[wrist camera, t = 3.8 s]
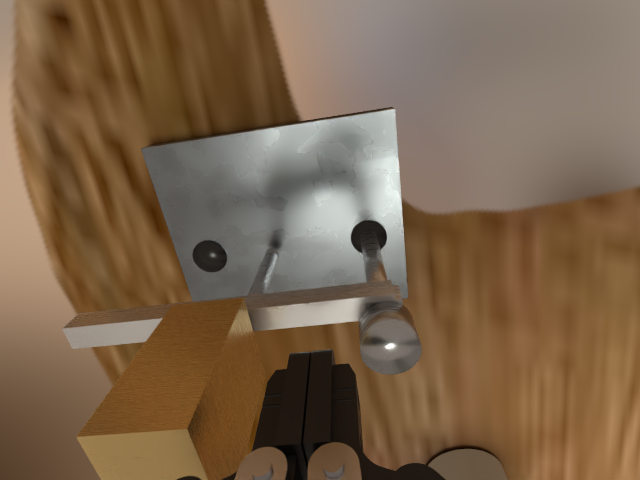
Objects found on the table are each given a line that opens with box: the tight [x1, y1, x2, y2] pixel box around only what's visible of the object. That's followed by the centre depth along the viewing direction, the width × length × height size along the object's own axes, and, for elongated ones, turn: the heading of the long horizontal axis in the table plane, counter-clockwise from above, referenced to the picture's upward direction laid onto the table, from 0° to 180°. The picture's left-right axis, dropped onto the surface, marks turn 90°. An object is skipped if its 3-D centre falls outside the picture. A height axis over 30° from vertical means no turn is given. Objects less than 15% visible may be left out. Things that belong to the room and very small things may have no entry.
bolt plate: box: [62, 107, 421, 375], centre depth 22 cm, size 18×14×14 cm
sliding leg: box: [77, 248, 279, 480], centre depth 18 cm, size 3×4×18 cm
